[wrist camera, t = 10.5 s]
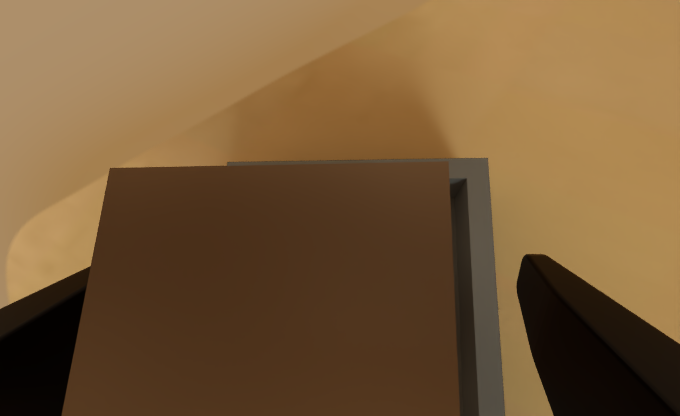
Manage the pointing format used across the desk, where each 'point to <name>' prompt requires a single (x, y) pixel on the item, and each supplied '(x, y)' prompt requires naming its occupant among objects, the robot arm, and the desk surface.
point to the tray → (466, 281)
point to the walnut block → (270, 293)
